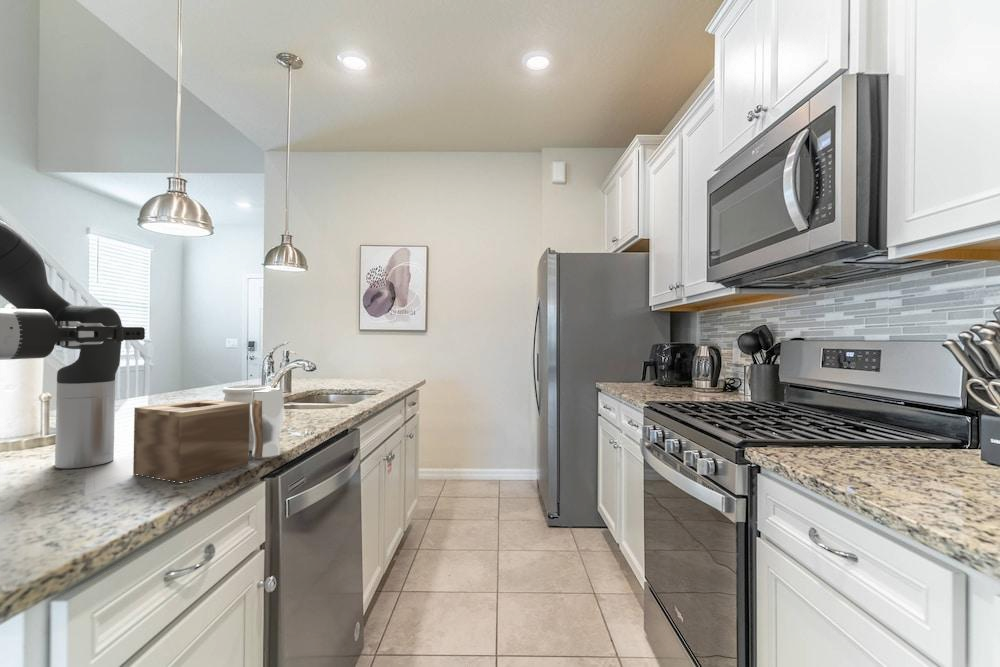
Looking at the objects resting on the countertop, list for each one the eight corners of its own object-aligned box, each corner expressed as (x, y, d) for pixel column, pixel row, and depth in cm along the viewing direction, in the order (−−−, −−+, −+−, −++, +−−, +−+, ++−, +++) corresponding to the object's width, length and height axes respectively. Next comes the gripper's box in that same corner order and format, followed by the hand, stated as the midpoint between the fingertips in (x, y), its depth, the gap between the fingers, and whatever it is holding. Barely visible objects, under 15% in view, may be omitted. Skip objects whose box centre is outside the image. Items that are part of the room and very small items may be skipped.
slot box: (133, 474, 90) (134, 407, 90) (203, 457, 103) (204, 399, 103) (181, 483, 84) (182, 412, 85) (248, 464, 97) (249, 403, 97)
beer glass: (269, 460, 101) (270, 391, 101) (241, 458, 102) (242, 390, 102) (289, 453, 108) (290, 388, 108) (263, 451, 109) (264, 387, 109)
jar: (234, 444, 116) (235, 384, 116) (276, 443, 117) (277, 384, 118) (212, 454, 106) (213, 389, 106) (259, 453, 107) (260, 388, 107)
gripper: (29, 307, 64) (154, 311, 79) (-22, 308, 70) (104, 312, 85) (29, 361, 64) (154, 355, 79) (-22, 358, 70) (104, 352, 85)
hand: (128, 333), depth 82 cm, fingers open, 8 cm apart
